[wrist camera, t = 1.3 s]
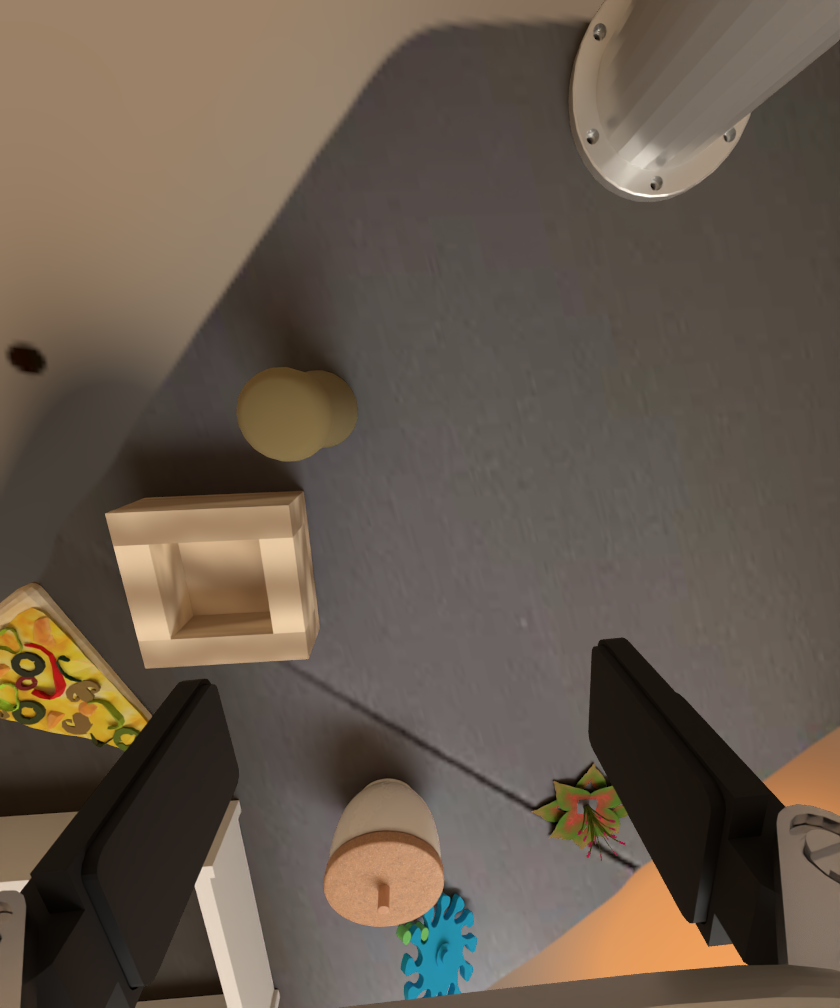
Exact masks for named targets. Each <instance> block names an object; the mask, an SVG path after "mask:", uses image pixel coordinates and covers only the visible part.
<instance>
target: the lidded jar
mask: <svg viewBox="0 0 840 1008" xmlns="http://www.w3.org/2000/svg"><path fill="white" fill-rule="evenodd" d="M443 887H444V872H443V864H442V861H441V852H440V844H439V838H438V833H437V829H436V826H435V822H434V819H433V816H432V814H431V812H430V810H429V808H428V806H427V804H426V803H425V802H424V800H423V799H422V798H421V797H420V796H419V795H418V794H417V793H416V792H415V791H414V790H413V789H412V788H411V787H410V786H409V785H408V784H406V783H405V782H403V781H401V780H397V779H392V778H385V779H379V780H376V781H373V782H371V783H370V784H368V785H367V786H366V787H365V788H364V789H363V790H362V791H361V792H359V793H358V794H357V795H356V796H355V797H354V798H353V799H352V800H351V801H350V802H349V804H348V805H347V806H346V808H345V810H344V811H343V813H342V815H341V817H340V819H339V822H338V824H337V827H336V830H335V833H334V837H333V840H332V844H331V849H330V854H329V860H328V863H327V867H326V871H325V876H324V892H325V895H326V898H327V900H328V902H329V903H330V905H331V906H332V908H333V909H334V910H335V911H336V912H337V913H339V914H340V915H341V916H343V917H344V918H346V919H348V920H350V921H353V922H356V923H358V924H363V925H367V926H376V927H383V926H395V925H399V924H403V923H406V922H410V921H412V920H414V919H416V918H418V917H420V916H422V915H423V914H425V913H426V912H427V911H429V910H430V909H431V908H432V907H433V906H434V905H435V903H436V902H437V901H438V899H439V897H440V895H441V893H442V890H443Z"/></svg>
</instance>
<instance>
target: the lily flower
mask: <svg viewBox="0 0 840 1008" xmlns="http://www.w3.org/2000/svg"><path fill="white" fill-rule="evenodd" d="M590 781H591V784H593V786H594V788H595V789H596V791H594V792H593V793H591V794H590V793H589V792H587V791H585V790H583V789H584V788H585V787H586V785H587V784H589V782H590ZM553 782H554V784H555V791H556V792H557V793H556V797H557V800H556V801H553V802H552V803H550V804H548V805H545V806H543V807H541V808H539V809H538V810H534V811H531V812H533V813H535V814H537V815H538V816H542V818H543V819H544V820H546V821H549V822H558V824H557V826H556V828H555V830H554V831H553V833H552V835H551V836H549V837H548V838H552V837H553V838H558V839H559V838H562V839H566V840H571V839H572V840H573V841H574V842H575V843H576V844H577V845H579V846H580V848H581V850H582V849H583V848H584V847H585V846H586V845H588V843H589V846H588V847H591V848H592V844H593V840H594V839H595V844H596V836H597V839H598V836H601V837H603V838H604V836H605V837H606V836H609V837H611V838H613V839H614V838H617V836H616V837H615V835H612V833H614V832H615V833H619V831H618V830H619V828H618V827H620V821H619V818H622V817H625V816H627V815H628V814H627V812H626V810H625V808H624V806H623V805H621V806H618V805H620V804H622V802H621V801H620V799H619V797H618V795H617V793H616V791H615V789H614V788H613V786H610V787H606V781H605V779H604V777H603V776H602V774H601V773H600V772H599V770H597V769H596V767H595V765H594V764H593V765H592V767H591V768H590V769H589V770H588V772H587V773H586V774H585V775H584V776H583V777H582V779H581V780H580V781H579V782H578V783H577V785H576V786H575V787H572V786H568V785H565V784H559V783H558V782H555V781H553ZM583 799H597V808H596V811H595V810H593V809H592V808H591V807H590V806H589V805H587V807H586V806H585V807H584V814H577V803H578V800H583ZM616 806H617V807H616ZM558 807H560V808H561V809H562V810H564V811H568V812H567V813H565V812H563V811H561V810H559V809H557V808H558ZM614 807H615V808H614ZM608 808H614V809H611V810H610V809H608ZM592 811H593V812H595V813H593V812H592ZM585 826H587V828H585ZM583 830H584V831H583ZM606 838H607V837H606ZM607 839H608V838H607ZM614 840H616V839H614ZM605 841H606V840H605ZM616 841H618V840H616ZM618 842H619V843H621V844H623V845H625V843H623V842H621V841H618ZM598 843H599V841H598ZM607 844H608V843H607ZM608 845H609V844H608ZM591 848H590V851H589V852H588V855H587V858H588V857H589V855H590V854H591V853H590V852H591ZM599 848H600V846H599ZM610 848H611V847H610ZM613 852H614V851H613ZM614 853H615V852H614ZM615 854H616V853H615ZM600 856H601V851H600ZM616 856H617V854H616ZM601 861H602V856H601Z"/></svg>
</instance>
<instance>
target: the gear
mask: <svg viewBox="0 0 840 1008" xmlns="http://www.w3.org/2000/svg"><path fill="white" fill-rule="evenodd" d="M449 904H450V897H449V896H447V895H446V894H445V893H441V895H440V897H439V899H438V901H437V910H436V914H435V917H434V920H433V922H432V923H431V921H432V918H433V915H434V906H433V907H432V908H431V909H430V910H429V911H427V912H426V913H425V914H423V915H422V916H423V919H424V925H423V924H422V923H421V922H420V921H418V922H417V921H415V920H412V921H410V922H406V923H403V924H399V926H398V928H397V932H396V934H397V937H398V938H399V939H400V940H401V941H402V942H403V943H404V944H405V945H406V944H408V943H409V942H411V943H412V944H414V945H416V946H417V949H418V958H417V960H416V961H415V962H414V960H413V958H412V957H411V956H410V955H409V954H407V953H406V954H404V956H403V959H402V963H401V970H402V971H403V972H404V974H405V975H406V976H409V975H410V974H412V973H415V972H418V973H419V979H418V981H417V982H416V983H412V982H410V981H408V982H407V983H406V984H405V985H404V996H405V1000H409V999H416V998H417V997H418V995H419V994H420V993H421V992H422V991H424V990H426V989H427V991H426V994H425V996H424V997H422V998H427V997H435V996H436V995H437V994H438V996H444V995H446V994H447V991H448V988H449V985H450V988H449V991H448V995H453V994H461V992H460V990H459V987H458V969H459V967H460V975H461V976H462V977H463V978H464V979H465V980H466V981H468V980H469V979H470V977H471V975H472V972H473V967H472V965H470V964H469V963H468V962H467V961H465V960H464V957H463V954H462V950H463V947H464V945H465V946H466V948H467V949H469V950H470V951H471V952H475V949H476V944H477V938H476V937H475V936H474V935H473V934H472V933H468V934H467V935H461V929H462V927H463V926H464V925H467V926H468V927H471V926H472V925H473V922H474V920H473V913H472V912H471V911H470V910H469V909H465V910H464V911H463V913H462V914H461V916H460V917H459V918H457V919H455V920H454V917H455V914H456V913H457V912H460V911H462V910H463V908H464V905H465V904H464V901H463V900H462V898H461V897H460V896H459V895H457V894H456V893H455V894H454V896H453V898H452V902H451V905H450V907H449V909H448V911H447V912H446V914H445V915H444V911H445V910H446V908H447V907H448V906H449ZM443 915H444V916H443Z"/></svg>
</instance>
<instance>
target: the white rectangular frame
mask: <svg viewBox="0 0 840 1008" xmlns="http://www.w3.org/2000/svg"><path fill="white" fill-rule="evenodd" d="M77 813H78V812H65V813H50V814H36V815H22V816H8V817H0V891H5V890H16V891H18V892H19V893H20V892H21V890H22V889H23V888H24V886H25V885H26V884H27V883H28V881H29V880H30V879H31V875H30V873H31V872H32V870H33V869H34V868H35V867H36V865H37V864H38V863H39V861H40V860H41V859H42V858H43V856H44V855H45V854H46V852H47V851H48V850H49V849H50V847H51V846H52V845H53V843H54V842H55V841H56V840H57V838H58V837H59V836H60V834H61V833H62V832H63V831H64V829H65V828H66V827H67V825H68V824H69V823H70V822H71V820H72V819H73V818H74V816H75V815H76V814H77ZM240 813H241V807H240V803H239V800H235V801H230V803H229V805H228V808H227V810H226V812H225V815H224V817H223V820H222V822H221V824H220V827H219V829H218V831H217V834H216V836H215V838H214V841H213V843H212V846H211V848H210V850H209V853H208V855H207V857H206V860H205V862H204V864H203V867H202V869H201V872H200V874H199V876H198V879H197V881H196V883H195V889H196V892H197V896H198V900H199V903H200V907H201V911H202V915H203V918H204V922H205V926H206V930H207V933H208V937H209V941H210V944H211V948H212V952H213V956H214V959H215V963H216V967H217V970H218V974H219V978H220V982H221V985H222V989H223V993H224V994H222V995H210V996H198V997H187V998H175V999H164V1000H152V1001H141V1002H137V1004H136V1006H135V1008H278V1004H279V1000H280V995H279V990H274V985H273V981H272V976H271V971H270V967H269V962H268V957H267V952H266V948H265V943H264V938H263V934H262V929H261V924H260V920H259V915H258V910H257V905H256V901H255V896H254V891H253V887H252V882H251V877H250V873H249V868H248V863H247V858H246V854H245V849H244V844H243V840H242V835H241V830H240V826H239V821H238V818H239V815H240Z"/></svg>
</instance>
